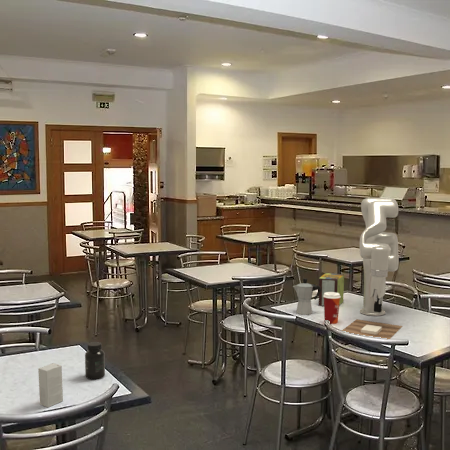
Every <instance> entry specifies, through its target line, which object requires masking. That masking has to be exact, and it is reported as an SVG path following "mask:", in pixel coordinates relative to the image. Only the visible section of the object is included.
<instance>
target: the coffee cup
mask: <svg viewBox="0 0 450 450" xmlns="http://www.w3.org/2000/svg"><path fill="white" fill-rule="evenodd" d="M323 297H324V306H323V312H324V313H323V315H324V321H325V320H329V321H330V325H335V324H338V323H339V311H340V305H339V302H340V294H339V293H336V292H326V293H324V295H323Z"/></svg>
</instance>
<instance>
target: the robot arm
mask: <svg viewBox="0 0 450 450" xmlns="http://www.w3.org/2000/svg"><path fill="white" fill-rule="evenodd" d="M360 208H361V214H362V217H363V221H364V223H365V229H364V230H363V231H362V233H361V235H360V236H359V255H360V257H361V258H362V265H363V303H362V305H363V307H362V308H360V309H359V312H360V314H361V315H366V316H371V317H373V316H374V317H379V316H381V317H382V316H384V315H386V311H385V310H384V309H383V297H384V296H385V295H386V289H387V287H386V286H387V285H386V283H387V280H386V278H388V275H389V274H388V273H389V272H396V271H397V270H398V269H399V264H400V263H399V262H400V261H399V239H398V236H397V234H396V233H394V232H386V229H387V218H393V219H395V218H396V217H398V215H399V205H398V202H397V200H396V199H395V198H392V197H366V198H363V200H362V201H361V203H360Z"/></svg>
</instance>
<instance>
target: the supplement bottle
mask: <svg viewBox="0 0 450 450" xmlns="http://www.w3.org/2000/svg"><path fill="white" fill-rule="evenodd" d="M102 348H103V347H102V342H100V341H99V342H98V341H92V342H88V343H87V351H86V352H85V353H84V368H85V369H84V371H85V372H84V374H85V375H84V376H85V378H86V379H87V380H91V381H92V380H94V381H96V380H101V379H103V378H104V377H105V375H106V361H105V359H106V358H105V354H106V353H105V351H104V350H102Z"/></svg>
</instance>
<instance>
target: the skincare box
mask: <svg viewBox="0 0 450 450" xmlns="http://www.w3.org/2000/svg"><path fill="white" fill-rule="evenodd" d="M37 369H38V386H39V387H38V389H39V390H38V391H39V404H40V406H43V407H45V408H50V407H53V406H55V405H57V404H59V403H61V402H63V401H64V395H63V390H64V389H63V371H62V365H61V364H57V363H54V362H53V363H50V364H47V365H44V366H41V367H39V368H37Z"/></svg>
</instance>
